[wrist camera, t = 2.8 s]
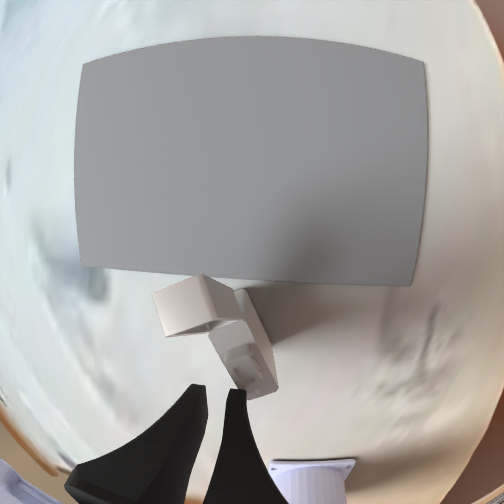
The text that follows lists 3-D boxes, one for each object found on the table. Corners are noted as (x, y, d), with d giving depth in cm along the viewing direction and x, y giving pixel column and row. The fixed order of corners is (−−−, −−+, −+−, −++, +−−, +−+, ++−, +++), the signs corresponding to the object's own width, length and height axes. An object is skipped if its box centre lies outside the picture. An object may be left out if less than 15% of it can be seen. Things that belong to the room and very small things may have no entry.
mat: (407, 283, 15) (410, 286, 14) (84, 263, 16) (81, 265, 16) (420, 63, 11) (423, 61, 11) (86, 65, 13) (82, 64, 12)
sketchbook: (469, 520, 38) (470, 524, 36) (481, 504, 31) (482, 509, 29) (515, 491, 33) (516, 494, 31) (535, 465, 27) (537, 469, 25)
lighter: (272, 347, 16) (289, 447, 9) (245, 357, 16) (245, 458, 9) (222, 237, 15) (197, 278, 7) (193, 250, 15) (142, 301, 7)
